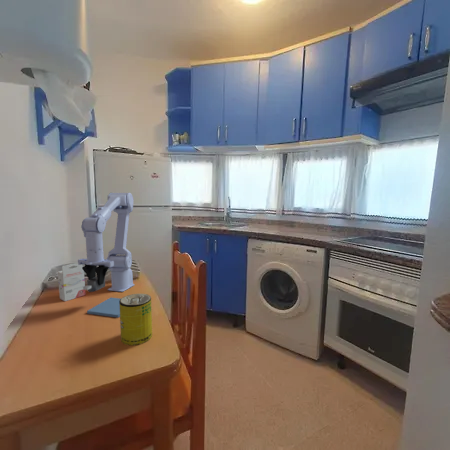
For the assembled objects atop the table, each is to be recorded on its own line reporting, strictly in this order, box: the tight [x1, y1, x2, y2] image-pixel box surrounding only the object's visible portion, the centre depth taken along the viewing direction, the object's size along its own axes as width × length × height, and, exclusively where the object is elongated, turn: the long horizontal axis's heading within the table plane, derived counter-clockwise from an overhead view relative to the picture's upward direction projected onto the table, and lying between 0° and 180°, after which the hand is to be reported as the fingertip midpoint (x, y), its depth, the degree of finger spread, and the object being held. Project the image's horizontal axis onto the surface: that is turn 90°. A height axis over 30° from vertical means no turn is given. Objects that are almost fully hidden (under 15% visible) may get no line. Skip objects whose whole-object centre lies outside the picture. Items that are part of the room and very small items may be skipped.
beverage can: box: [119, 293, 153, 346], centre depth 80 cm, size 9×9×12 cm
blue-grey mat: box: [86, 297, 121, 319], centre depth 101 cm, size 13×13×1 cm
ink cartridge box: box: [57, 262, 86, 302], centre depth 111 cm, size 9×5×15 cm, turn 143°
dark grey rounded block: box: [83, 275, 106, 293], centre depth 101 cm, size 9×3×4 cm, turn 165°
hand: (96, 283), depth 102 cm, fingers closed on dark grey rounded block, 3 cm apart
